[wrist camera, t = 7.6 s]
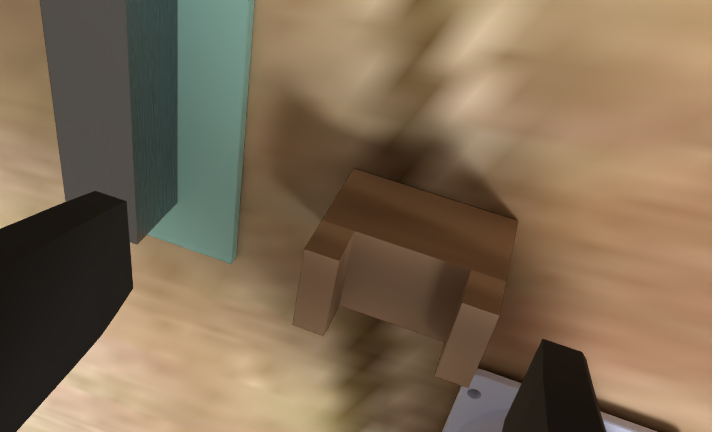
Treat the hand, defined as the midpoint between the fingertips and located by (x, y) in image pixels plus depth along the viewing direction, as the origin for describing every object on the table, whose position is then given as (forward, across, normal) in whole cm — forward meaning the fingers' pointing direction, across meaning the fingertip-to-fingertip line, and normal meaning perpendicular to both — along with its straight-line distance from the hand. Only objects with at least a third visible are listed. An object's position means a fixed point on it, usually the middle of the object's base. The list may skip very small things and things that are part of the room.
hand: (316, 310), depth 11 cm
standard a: (+10, -1, +5) cm, 11 cm away
